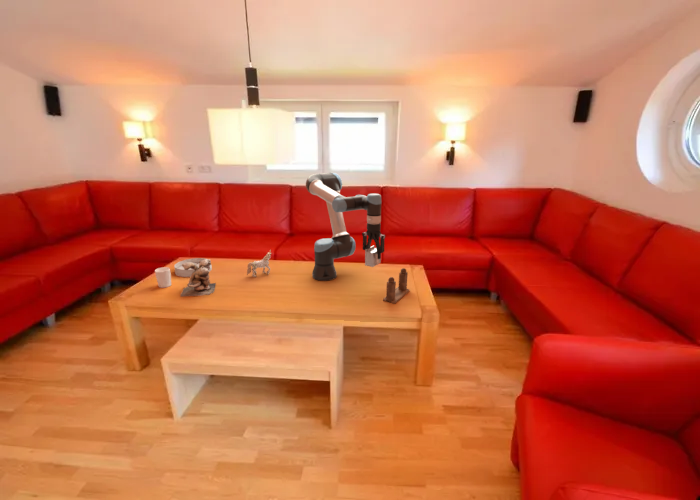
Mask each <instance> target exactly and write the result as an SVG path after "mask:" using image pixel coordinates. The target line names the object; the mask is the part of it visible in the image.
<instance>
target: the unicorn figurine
mask: <svg viewBox="0 0 700 500" xmlns="http://www.w3.org/2000/svg"><path fill="white" fill-rule="evenodd" d="M271 251H272V250H271V249H270V250H269V251H268V252H267V253H266V255H265V256H264V257H263V258H261V259H260V260H254V261H253V262H252V261H251V262H248V264H247V269H246V275H247V276H248V275H249V274H250V273H252V274H251V276H252V277H253V278H257V269H258V268H259V269H260V268H261V269H262V268H263V269H262V271H261V272H262V274H266V275H269V274H270V271H271V267H270V266H269V264H270V261H269V260H270V259H271V257H272V253H273V252H271ZM266 269H268V270H266ZM265 270H266V271H265Z"/></svg>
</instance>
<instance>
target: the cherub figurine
mask: <svg viewBox="0 0 700 500" xmlns="http://www.w3.org/2000/svg"><path fill="white" fill-rule="evenodd" d="M210 261H212V260H211V259H210V258H205V260H202V261H201V262H200V264H199V268H198V266H197V265H196V264H195V263H192V262H187V263H184V264H182V267H184V269H185V270H188V269H190V268H191V269H194V270H195V271H194V272H193V273H192V275H191V277H189V280H188V283H187V286H186V287H183V289H182V291H181V293H180V297H182V298H183V297H195V296H209V295H212V294H213V293H214V292H215V290H216V286H217V285H216V282H213V283H211V281H210V271H209V269H210V267H209V266H210V265H211V266H212V263H210Z"/></svg>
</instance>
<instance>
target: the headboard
mask: <svg viewBox="0 0 700 500" xmlns="http://www.w3.org/2000/svg"><path fill="white" fill-rule="evenodd" d="M398 273H399V274H398V286H396V285H397V282H396V281H395V278H394V277H392V276H390V277H389V278H388V279H387V282H386V296H385V297H384V298H383V300H382V301H383V302H387V303H391V304H396V303H398V302H399V301H400V300H401V299H402V298H403V297H405V296H406V295H407V294H408V293H409V292H410V289H409V288H407V286H408V274H409V273H408V271H407V269H406V268H404V267H403V268H401V269H400V272H398Z"/></svg>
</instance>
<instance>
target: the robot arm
mask: <svg viewBox="0 0 700 500" xmlns="http://www.w3.org/2000/svg"><path fill="white" fill-rule="evenodd" d="M305 188H306V190H307V192H308V193H309V194H311V195H313V196H317V197H319V198H320V199H322V200H324V201H325V202H326V203H325V204H326V207H327V212H328V213H327V214H328V216H329V220H330V225H331V230H332V237H331V238H330V237H327V238H320V239H317V240H316V241H315V242H314V246H313V247H314V248H313V251H314V267H313V270H312V273H311V275H312V278H313V279H314V280H316V281H320V282H321V281H324V282H327V281H331V280H334V279H336V278H337V275H338V274H337V273H338V272H337V270H336V267H335V263H334V262H335V261H334V260H336V259H341V258H347V257H349V256H352V255H354V253H355V251H356V248H357V247H356V240H355V239H354V238H353V236H351V235H350V233H349V232H347V227H346V224H345V219H344V212H345V213H346V212H351V211H360V210H365V211H366V222H367V223H366V231H364V232H362V233H361V235H362V250H363V251H365V249H367V248H369V247H371V244H372V242H373V241H374V243H375V248H376V249H377V253H376V266H378V265H379V264H380V263H379V259H380V258H381V257H382V254H383V253H385V239H386V234H382V233H381V229H382V228H381V227H382V226H381V225H382V224H381V222H382V204H383V203H382V195H381V194H379V193H368V194H367V196H366V195H364V194H356V195H355V196H347V197H346V196H344V195H342V194H341V190H342V189H343V180H342V178H341V176H340V174H338V173H336V172H323V173H314V174H310V176H308V177H307V179H306V182H305ZM381 259H382V258H381Z"/></svg>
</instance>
